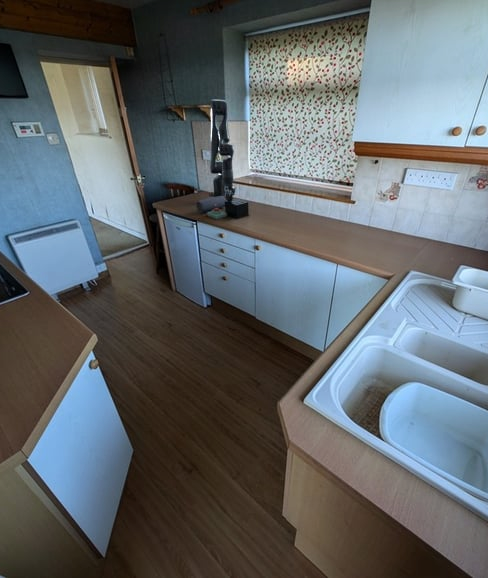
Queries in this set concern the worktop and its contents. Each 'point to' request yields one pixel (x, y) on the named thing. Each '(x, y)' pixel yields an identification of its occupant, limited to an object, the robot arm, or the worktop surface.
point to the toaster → (236, 208)
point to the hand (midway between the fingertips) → (229, 200)
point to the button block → (216, 214)
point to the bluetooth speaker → (211, 204)
